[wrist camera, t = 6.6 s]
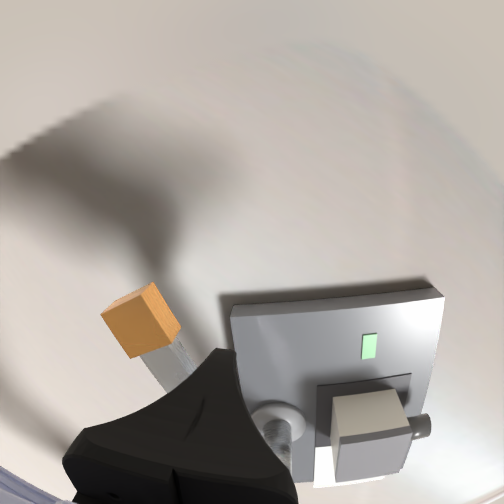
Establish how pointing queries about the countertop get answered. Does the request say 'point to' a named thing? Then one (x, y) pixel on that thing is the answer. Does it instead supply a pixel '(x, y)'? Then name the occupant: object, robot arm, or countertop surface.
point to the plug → (372, 434)
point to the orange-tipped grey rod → (171, 351)
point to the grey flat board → (333, 363)
